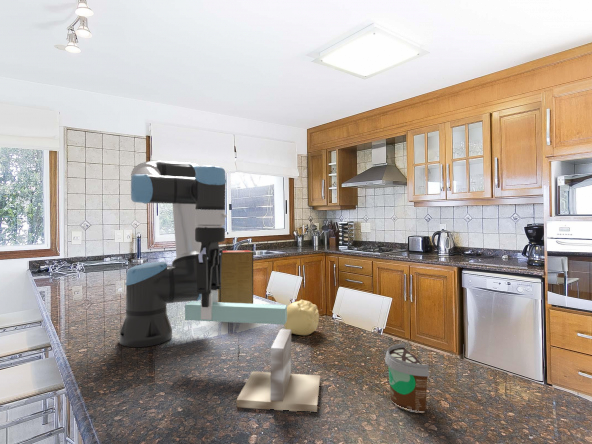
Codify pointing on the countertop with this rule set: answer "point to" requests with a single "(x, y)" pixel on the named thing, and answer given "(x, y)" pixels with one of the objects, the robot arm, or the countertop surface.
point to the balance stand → (280, 383)
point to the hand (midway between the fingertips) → (209, 316)
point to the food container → (407, 378)
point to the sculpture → (302, 317)
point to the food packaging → (236, 277)
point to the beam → (239, 313)
